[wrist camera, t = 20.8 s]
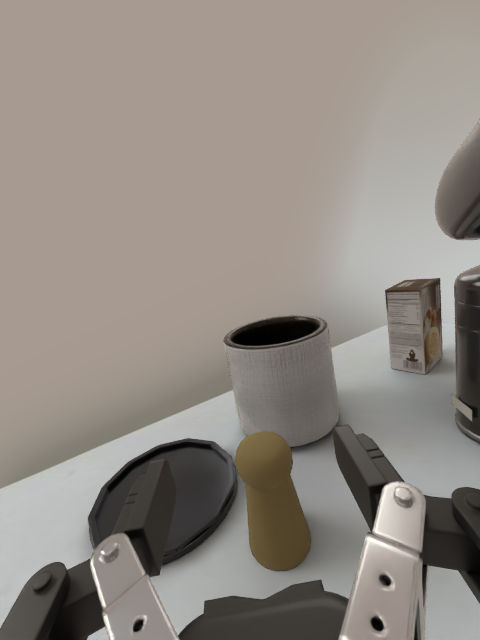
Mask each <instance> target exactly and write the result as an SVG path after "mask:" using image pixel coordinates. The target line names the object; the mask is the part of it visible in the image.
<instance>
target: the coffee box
mask: <svg viewBox="0 0 480 640" xmlns="http://www.w3.org/2000/svg"><path fill="white" fill-rule="evenodd" d="M385 293H386V306H387V319H388V332H389V345H390V358H391V368H392V369H397V370H402V371H408V372H414V373H419V374H427V373H428V372H429V371H430V370H431V369H432V368H433V366H434V365H435V364H436V363H437V362H438V361H439V360H440V359H441V358H442V357H443V354H442V324H441V295H440V278H436V279H417V280H404V281H403V282H401V283H399V284H396V285H395V286H393V287H391V288H389V289H387V290H385Z"/></svg>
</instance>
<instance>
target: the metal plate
mask: <svg viewBox="0 0 480 640" xmlns="http://www.w3.org/2000/svg"><path fill="white" fill-rule="evenodd" d="M161 459H168V461H169V464H170V468H171V471H172V474H173V478H174V481H175V485H176V502H175V506H174V511H173V516H172V520H171V525H170V529H169V534H168V539H167V543H166V548H165V552H164V557H163V561H162V565H164V564H167V563H169V562H172V561H174V560H176V559H178V558H180V557H182V556H184V555H185V554H187V553H189V552H190V551H192V550H193V549H194V548H196V547H197V546H198V545H200V544H201V543H202V542H203V541H204V540H206V539H207V538H208V537H209V536H210V535H211V534H212V533H213V532H214V531H215V530H216V528H217V527H218V526H219V525H220V523H221V522H222V521H223V519H224V518H225V516H226V515H227V513H228V511H229V509H230V507H231V505H232V503H233V500H234V497H235V493H236V488H237V475H236V470H235V466H234V464H233V461H232V457H231V455H229V454H228V453H227V452H226V451H225V450H223V449H222V448H221V447H220V446H219V445H218V444H216V443H215V442H213V441H206V440H198V439H190V438H187V439H183V440H179V441H174V442H170V443H166V444H162V445H159V446H156V447H154V448H152V449H151V450H149V451H147V452H145V453H143V454H142V455H140V456H138V457H136V458H134V459H132V460H131V461H129V462H127V463H126V464H125V465H124V466H123V467H122V468H121V469H120V470H119V471H118V472H117V473H116V474H115V475H114V476H113V477H112V478H111V479H110V480H109V481H108V482H107V483H106V484H105V485H104V486H103V487H102V488H101V491H100V493H99V495H98V497H97V499H96V501H95V504H94V506H93V508H92V510H91V512H90V514H89V516H88V523H89V533H90V540H91V543H92V545H93V548H94V550H95V549H96V547H97V546H98V545H99V544H100V543H101V542H102V541H103V540H105V539H106V538H108V537H109V536H111V534H112V532H113V530H114V527H115V525H116V522H117V520H118V518H119V515H120V513H121V511H122V508H123V506H124V505H125V501H126V499H127V497H128V494H129V491H130V489H131V487H132V485H133V483H134V482H135V481H136V480H137V479H138V477H139V476H140V475H144V474H146V472H147V469H148V466H149V464H150V462H151V461H156V460H161Z"/></svg>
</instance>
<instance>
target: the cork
mask: <svg viewBox="0 0 480 640" xmlns="http://www.w3.org/2000/svg"><path fill="white" fill-rule="evenodd" d="M235 463H236V467H237V470H238V473H239V475H240V477H241V479H242V480H243V481H244V482H245V483H246V497H247V512H248V527H249V542H250V547H251V551H252V554H253V556H254V557H255V558H256V560H257V561H258V562H259V563H260V564H261V565H263V566H264V567H265V568H268V569H271V570H275V571H283V570H289V569H291V568H293V567H296V566H297V565H298V564H299V563H301V562H302V561H303V560H304V559H305V557H306V555H307V553H308V551H309V549H310V543H311V538H310V532H309V528H308V525H307V522H306V519H305V517H304V514H303V511H302V508H301V505H300V502H299V499H298V496H297V493H296V490H295V487H294V484H293V481H292V478H291V475H290V473H291V469H292V464H293V460H292V453H291V449H290V447H289V445H288V443H287V442H286V440H285V439H284V438H283V437H281V436H280V435H279V434H277V433H274V432H268V431H263V432H257V433H254V434H251V435H249V436H247V437H246V438H245V439H243V440H242V441H241V443H240V444H239V446H238V448H237V451H236V459H235Z"/></svg>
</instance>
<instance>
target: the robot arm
mask: <svg viewBox="0 0 480 640" xmlns="http://www.w3.org/2000/svg"><path fill="white" fill-rule="evenodd" d="M435 214H436V220H437V222H438V225H439V226H440V228H441V229H442V231H443V232H444V233H445V234H446V235H447V236H449V237H451V238H454V239H457V240H477V239H480V119H479V121H478V122H477V124H476V125H475V126H474V128H473V129H472V131H471V132H470V133H469V135H468V136H467V138H466V139H465V140H464V142H463V143H462V144H461V146H460V147H459V149H458V150H457V151H456V153H455V154H454V156H453V157H452V158H451V160H450V162H449V163H448V165H447V167H446V169H445V170H444V173H443V175H442V177H441V180H440V182H439V186H438V189H437V194H436V200H435ZM454 296H455V337H456V397H455V396H454V395H452V404H453V405H454V406H455V407H456V424H457V426H458V427H459V428H460V430H461V431H462V432H464V433H465V434H466V435H467V436H469V437H471V438H472V439H474V440H476V441H478V442H480V265H479V266H476V267H474V268H471V269H469V270H467V271H465V272H463V273H461V274H460V275H459V276H458V277H457V278H456V280H455V285H454ZM332 431H333V439H334V446H335V454H336V459H337V462H338V465H339V468H340V470H341V472H342V474H343V476H344V478H345V480H346V482H347V484H348V486H349V488H350V490H351V492H352V494H353V496H354V498H355V500H356V502H357V504H358V506H359V508H360V510H361V512H362V514H363V516H364V518H365V520H366V522H367V524H368V526H369V528H370V530H371V532H372V533H371V532H368V533H367V535H366V538H365V541H364V545H363V549H362V553H361V556H360V560H359V564H358V568H357V572H356V575H355V579H354V583H353V587H352V591H351V594H350V598H349V599H347V598H346V597H343V596H341V595H339V594H335V593H332V592H327V591H324V588H323V584H322V581H321V580H316V581H311V582H305V583H300V584H294V585H291V586H289V587H287V588H285V589H284V590H282V591H280V592H278V593H276V594H274V595H272V596H270V597H268V598H266V599H254V598H246V597H239V596H229V597H224V598H218V599H213V600H207V601H205V602H204V614H202V615H200V616H199V617H197V618H196V619H194V620H193V621H192V622H191V623H190V624H188V625H187V626H186V627H185V628H184V629H183V631H182V632H181V633H180V634H179V635H177V633H176V631H175V629H174V627H173V625H172V623H171V621H170V619H169V617H168V615H167V613H166V611H165V609H164V606H163V604H162V602H161V600H160V598H159V596H158V594H157V592H156V590H155V588H154V586H153V584H152V582H151V580H150V578H149V577H152V576H158V575H160V571H161V566H162V561H163V557H164V552H165V548H166V543H167V539H168V534H169V529H170V525H171V520H172V516H173V511H174V506H175V502H176V485H175V481H174V478H173V474H172V471H171V468H170V464H169V461H168V459H161V460H156V461H151V462H150V464H149V466H148V469H147V472H146V474H144V475H140V476H139V477H138V479H137V480H136V481H135V482H134V483H133V485H132V487H131V489H130V491H129V494H128V497H127V499H126V501H125V505H124V506H123V508H122V511H121V513H120V515H119V518H118V520H117V522H116V525H115V527H114V530H113V532H112V534H111V536H109V537H108V538H106V539H105V540H103V541H102V542H101V543H100V544H99V545H98V546H97V547H96V549H95V550H94V552H93V554H92V556H91V558H90V559H89V560H87V561H85V562H83V563H81V564H79V565H77V566H75V567H73V568H70V569H68V570H67V569H66V567H65V565H64V564H63V563H61V562H54V563H51V564H49V565H47V566H45V567H43V568H42V569H40V570H39V571H38V572H36V573H35V574H34V575H33V576H32V577H31V578H30V579H29V581H28V582H27V583H26V584H25V586H24V588H23V589H22V591H21V593H20V595H19V596H18V598H17V600H16V602H15V603H14V605H13V607H12V609H11V610H10V612H9V614H8V616H7V617H6V619H5V621H4V623H3V624H2V626H1V628H0V640H87V638H88V636H89V635H91V634H93V633H94V632H96V631H98V630H100V629H101V628H103V627H106V630H107V634H108V638H109V640H425V612H426V597H427V582H428V568H429V566H435V567H441V568H447V569H453V570H458V571H459V572H460V574H461V575H462V577H463V579H464V580H465V582H466V583H467V585H468V586H469V588H470V589H471V591H472V592H473V594H474V595H475V597H476V598H477V600H478V602H479V603H480V490H479V489H475V488H470V487H462V488H458V489H456V490H455V491H454V492H453V493H452V499H450V498H439V497H431V496H426V495H423V494H422V493H421V491H420V490H418V489H417V488H416V487H414V486H412V485H410V484H408V483H405V482H404V480H403V479H402V478H401V476H400V475H399V474H398V473H397V471H396V470H395V469H394V467H393V466H392V465H391V463H390V462H389V461H388V459H387V458H386V457H385V456H384V454H383V453H382V451H381V450H379V447H378V446H377V445H376V443H375V442H374V441H373V440H372V439H371V438H369V437H368V436H366V435H365V434H358V435H356V434H355V433H354V431H353V430H352V428H351V427H350V426H349V425H343V426H338V427H333V428H332Z"/></svg>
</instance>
